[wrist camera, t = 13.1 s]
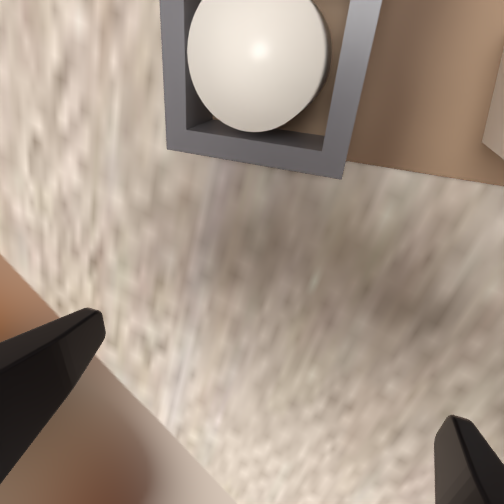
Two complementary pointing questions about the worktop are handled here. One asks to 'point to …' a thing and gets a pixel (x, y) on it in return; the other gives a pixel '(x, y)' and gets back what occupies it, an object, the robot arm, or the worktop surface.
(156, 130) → the worktop surface
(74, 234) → the worktop surface
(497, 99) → the die
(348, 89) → the frame
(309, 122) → the board
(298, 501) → the worktop surface
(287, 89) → the dome
